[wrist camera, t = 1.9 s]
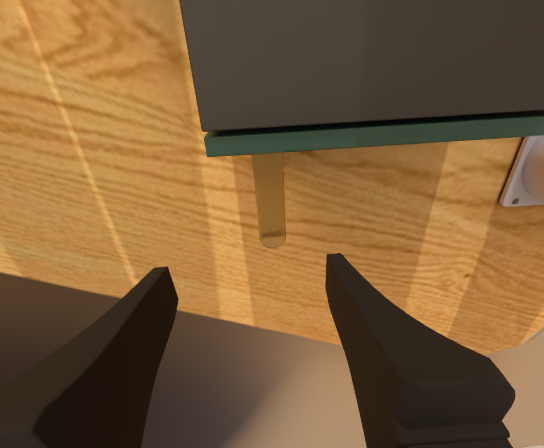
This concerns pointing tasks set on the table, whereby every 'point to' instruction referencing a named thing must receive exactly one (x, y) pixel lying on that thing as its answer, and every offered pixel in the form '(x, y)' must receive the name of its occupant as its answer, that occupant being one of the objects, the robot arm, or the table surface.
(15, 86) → the table surface
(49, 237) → the table surface
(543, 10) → the cubby
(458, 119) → the cubby door
